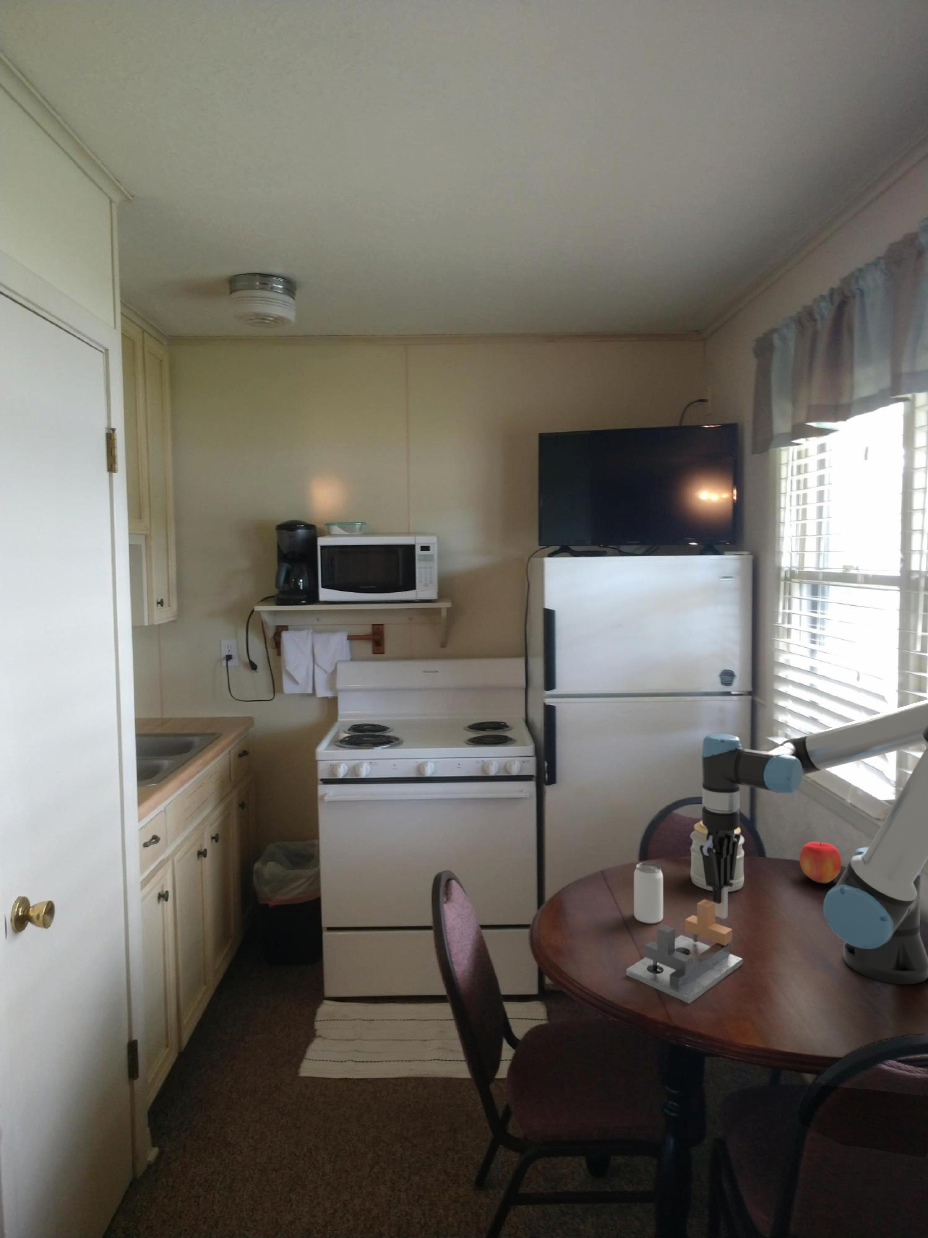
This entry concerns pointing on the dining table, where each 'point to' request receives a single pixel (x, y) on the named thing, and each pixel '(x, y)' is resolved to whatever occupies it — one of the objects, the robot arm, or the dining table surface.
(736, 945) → the dining table surface
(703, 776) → the robot arm
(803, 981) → the dining table surface
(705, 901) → the orange t-shaped block
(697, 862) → the jar
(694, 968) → the grey assembly fixture
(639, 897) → the can
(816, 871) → the apple
